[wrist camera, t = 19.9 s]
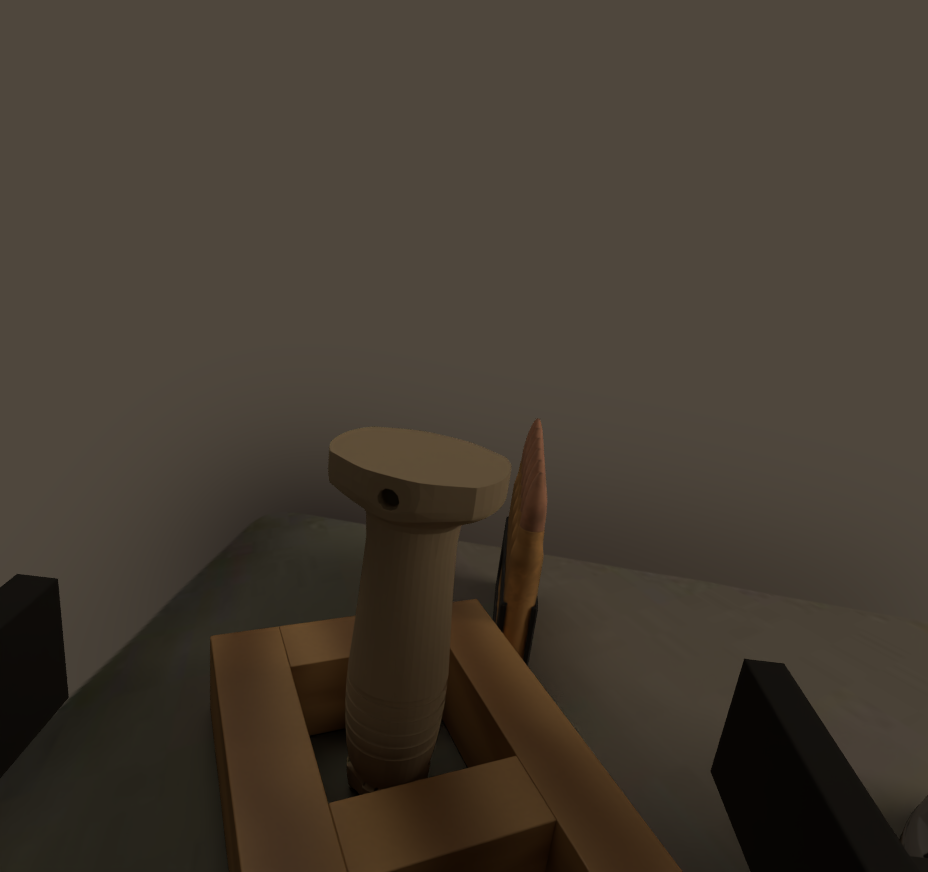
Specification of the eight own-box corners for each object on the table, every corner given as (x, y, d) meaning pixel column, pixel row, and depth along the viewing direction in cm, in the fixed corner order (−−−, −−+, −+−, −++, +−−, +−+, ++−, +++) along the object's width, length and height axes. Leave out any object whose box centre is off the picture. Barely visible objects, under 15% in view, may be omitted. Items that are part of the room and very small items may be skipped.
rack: (467, 661, 37) (476, 598, 36) (841, 1244, 17) (893, 1148, 16) (210, 707, 31) (209, 635, 30) (316, 1648, 12) (328, 1552, 10)
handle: (347, 722, 32) (371, 418, 27) (476, 771, 30) (526, 454, 25) (288, 799, 27) (303, 453, 22) (434, 863, 25) (485, 500, 21)
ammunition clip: (522, 696, 35) (561, 482, 31) (486, 691, 35) (521, 476, 31) (523, 587, 45) (553, 416, 41) (496, 583, 45) (522, 412, 41)
